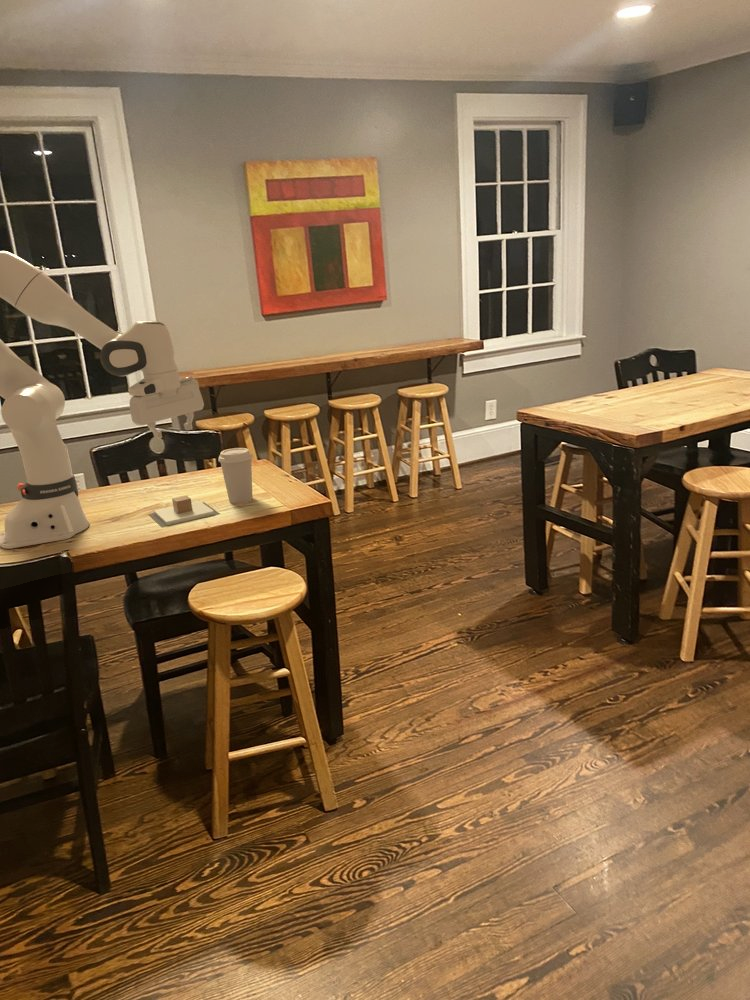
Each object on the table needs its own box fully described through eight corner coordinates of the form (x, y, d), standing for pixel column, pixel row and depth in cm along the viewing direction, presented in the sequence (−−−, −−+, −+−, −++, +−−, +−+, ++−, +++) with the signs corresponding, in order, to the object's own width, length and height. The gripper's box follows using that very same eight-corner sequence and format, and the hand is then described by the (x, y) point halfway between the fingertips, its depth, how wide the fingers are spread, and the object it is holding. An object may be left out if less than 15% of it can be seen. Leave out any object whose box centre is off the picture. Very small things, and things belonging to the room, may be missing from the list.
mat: (162, 529, 189) (161, 527, 189) (148, 516, 200) (148, 514, 200) (220, 515, 196) (220, 513, 196) (204, 504, 208) (204, 502, 208)
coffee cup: (218, 507, 204) (211, 455, 200) (232, 496, 213) (226, 447, 208) (250, 507, 202) (243, 455, 197) (263, 497, 210) (257, 447, 206)
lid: (166, 525, 190) (164, 509, 188) (153, 513, 201) (151, 498, 199) (214, 514, 196) (212, 498, 195) (199, 503, 207) (197, 488, 205)
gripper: (189, 375, 199) (199, 424, 203) (122, 390, 186) (134, 442, 190) (202, 375, 195) (212, 425, 199) (134, 390, 181) (146, 444, 186)
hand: (174, 433), depth 194 cm, fingers open, 8 cm apart
